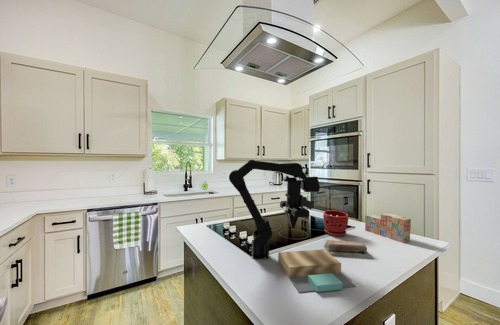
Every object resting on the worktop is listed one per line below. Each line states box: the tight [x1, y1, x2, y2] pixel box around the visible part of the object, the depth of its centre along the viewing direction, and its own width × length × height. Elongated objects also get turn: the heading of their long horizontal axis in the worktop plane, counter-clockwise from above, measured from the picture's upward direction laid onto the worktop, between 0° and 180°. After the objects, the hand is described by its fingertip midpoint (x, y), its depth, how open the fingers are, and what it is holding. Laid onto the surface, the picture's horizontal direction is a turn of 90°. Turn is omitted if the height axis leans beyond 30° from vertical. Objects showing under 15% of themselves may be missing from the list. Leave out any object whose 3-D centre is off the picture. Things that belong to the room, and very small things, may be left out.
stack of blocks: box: [364, 212, 412, 244], centre depth 121 cm, size 21×6×12 cm, turn 27°
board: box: [277, 248, 342, 279], centre depth 83 cm, size 20×12×4 cm, turn 101°
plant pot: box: [322, 209, 349, 237], centre depth 121 cm, size 13×13×12 cm
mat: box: [288, 272, 356, 294], centre depth 73 cm, size 20×8×1 cm, turn 101°
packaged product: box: [323, 239, 373, 259], centre depth 98 cm, size 18×5×10 cm
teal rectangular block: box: [308, 273, 344, 293], centre depth 71 cm, size 9×6×2 cm, turn 101°
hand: (292, 228), depth 93 cm, fingers closed
